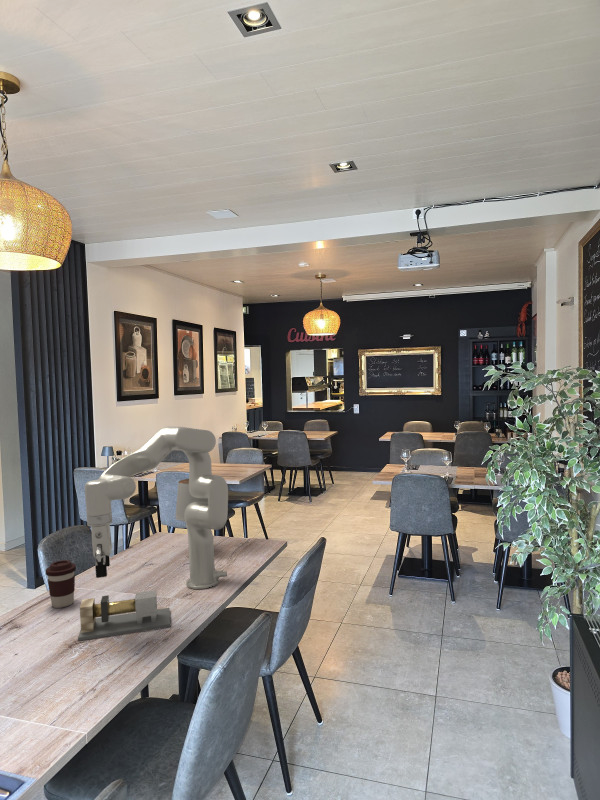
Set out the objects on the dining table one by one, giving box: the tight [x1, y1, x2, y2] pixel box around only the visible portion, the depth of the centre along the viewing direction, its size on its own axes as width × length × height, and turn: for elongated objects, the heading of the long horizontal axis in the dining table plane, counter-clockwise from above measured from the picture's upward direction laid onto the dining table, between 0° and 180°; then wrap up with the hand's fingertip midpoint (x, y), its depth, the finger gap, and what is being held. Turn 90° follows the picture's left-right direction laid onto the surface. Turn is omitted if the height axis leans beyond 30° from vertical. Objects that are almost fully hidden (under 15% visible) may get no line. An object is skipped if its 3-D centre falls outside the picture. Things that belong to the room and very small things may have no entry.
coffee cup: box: [45, 559, 77, 609], centre depth 193 cm, size 10×10×15 cm
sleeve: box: [134, 589, 158, 624], centre depth 175 cm, size 6×6×8 cm
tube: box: [93, 595, 136, 623], centre depth 173 cm, size 18×5×6 cm, turn 105°
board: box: [77, 607, 171, 642], centre depth 174 cm, size 28×13×1 cm, turn 105°
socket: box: [79, 597, 97, 633], centre depth 170 cm, size 4×7×8 cm, turn 15°
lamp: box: [174, 478, 208, 522], centre depth 242 cm, size 19×19×34 cm
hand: (103, 571), depth 172 cm, fingers open, 9 cm apart
